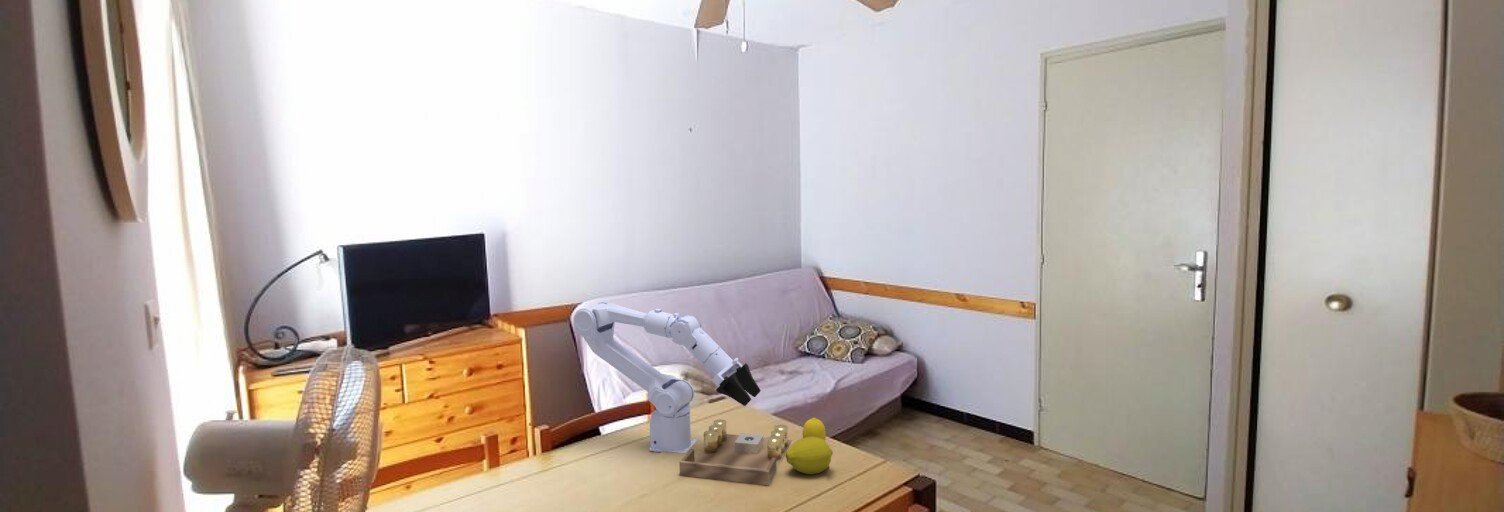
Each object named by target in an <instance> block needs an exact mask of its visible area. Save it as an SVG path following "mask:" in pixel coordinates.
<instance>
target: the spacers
mask: <svg viewBox="0 0 1504 512" xmlns="http://www.w3.org/2000/svg"><path fill="white" fill-rule="evenodd" d="M712 423H713V424H712V425H709V426H708V430H706V431H703V447H704V452H705V453H707V454H713V453H716V452H717V451H718V447H721V446H722V442H723V441H726V440H727V434H728V433H727V420H725V419H719V418H718V419H715V420H713V422H712ZM788 428H789V427H788V426H787V425H785V424H777V425H775V426H774V427H773V430H772V431H771V432H770V436H768V437H766V438H767V456H768V459H769V460H772V458H773V457H774V458H776V460H779V459H781V454H782V453H784V452H785V447H787V446H788V440H789V436H788V430H789V429H788Z"/></svg>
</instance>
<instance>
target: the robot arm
mask: <svg viewBox="0 0 1504 512" xmlns="http://www.w3.org/2000/svg"><path fill="white" fill-rule="evenodd" d="M616 323H620V324H624V325H625V324H626V325H631V326H637V327H641V328H643V329H644V331H645V332H646V333H648V334H650V335H655V336H660V337H663V338H668V339H671V340H672V342H673V343H675V344H676V345H681V346H683V347H684V348H685V349H687V351H689V352H690V353H691V354H692V355H693V357H694V358H696V360H697V361H698V362H699V363H701V365H703V366H704V368H705V369H706V370H707V371H708V372H709V373H710V374H711V375H712V376H713V378H712V379H711V381H712V382H713V383H714V384H715V386H717V388H716V389H715V392H716V393H718V394H721V395H724V396H726V397H729V398H731V399H733V401H736V402H738V403H739V404H741V405H742V406H744V407H746V406H747V405H748V403H750V402H751V401H752V398H751V397H753V398H756V397H757V396H758V394H760V393H761V388H760V387H759V385H758V383H757V382H756V380H755V378H753V375H752V373H751V370H750V367H749V365H748V364H747V363H744V364H742V363H741V362H740V361H739V360H740V359H739V358H738V357H736V358H734V359H732V357H730V355H728V353H727V352H726V351H724V350H723V348H722V347H721V346H720V345H718V343H717V342H715V340H714V339H712V337H711V336H710V335H709V334H708V333H707V332H705V331H704V330H703V328H702V324H701V322H700V320H699V318H697V316H694V315H692V314H690V313H688V314H685V315H683V316H681V315H680V313H677V312H674V313H669V312H665V311H663V309H661V308H655V309H651V310H649V311H648V313H647V312H642V311H640V310H636V309H633V308H628V307H625V306H621V305H619V304H616V303H614V302H610V303H608V302H606V301H601V302H599V303H597V304H593V305H590V306H588V307H582V308H579V309H578V310H577V311H576V312H575V314H574V316H573V325H574V330H575V333H576V334H578V335H580V337H582V338H583V339H584V341H585V342H586V344H587V345H588V347H589V348H590V350H591V351H592V353H593V354H594V355H596V356H597V357H599V358H600V359H602V360H603V361H605V362H606V363H607V364H608V365H610V366H611V367H613V368H614V369H616V370H617V371H618V372H620V374H622V375H624V376H625V377H627V378H628V379H630V380H631V381H632V382H634V383H635V384H637V386H639V387H641V388H642V389H643V390H645V391H646V392H647V393H648V401H649V403H651V404H653V406H654V407H655V410H654V411H653V412H652V413H651V416H650V419H649V440H650V442H649V444H650V445H649V446H650V447H649V452H657V453H662V452H671V453H677V454H678V453H680V454H685V453H686V454H687V453H688V452H689V451H690V450H691V449H692V446H694V444H695V443H696V442H697V441H698V440H697V439H694V438H693V439H692V434H691V432H692V431H691V429H692V428H691V426H692V425H691V403H692V401H693V399H694V398H695V389H694V387H693V385H692V384H691V383H690V382H689V381H687V380H685V379H680V378H677V377H676V376H675V375H671V374H664V373H661V372H660V371H659V370H657V369H656V368H655V367H653V366H652V365H650V364H649V363H648V362H646V361H645V360H643V359H642V358H640V357H639V356H638V355H636V354H635V353H633V352H632V351H631V350H630V349H628V348H626V347H625V346H624V345H622V344H621V343H619V342H617V341H616V340H615V338H614V334H615V324H616ZM750 396H751V397H750Z"/></svg>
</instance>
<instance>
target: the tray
mask: <svg viewBox="0 0 1504 512" xmlns="http://www.w3.org/2000/svg"><path fill="white" fill-rule="evenodd" d="M739 436H740V434H730V433H727V440H726V441H723V442H722V446H721V447H718V451H717V452H716V453H713V454H707V453H705V452H704V446H703V447H702V448H701V449H700V451H699V452H698V453H697V454H696V455H695V449H694V448H693V449H692V448H690V449H689V450H688V451H687V452H686V454H685V455H684V456H683V458H682V459H681V460H679V462H678V463H679V466H678V467H679V476H682V477H692V478H699V479H709V480H717V481H718V480H719V481H725V482H726V481H727V482H733V483H734V482H735V483H741V484H742V483H744V484H752V485H761V486H762V485H763V486H767V487H769V486H770V485H771V482H772V480H773V478H774V476H775V474H776V472H777V471H778V469H779V467H780V465H781V463H782V461H783V459H784V457H785V454H786V452H787V451H788V450H789V449H790V447H791V446H790V445H791V444H792V442H793V439H788V446H787V447H785V452H784V453H782V454H781V459H779V460H776V458H774V457H773V458H772V460H769V459H768V456H767V438H768V437H763V438H764V445H763V447H762V448H761V450H760V451H759V453H758V454H749V453H739V452H735V441H736V440H737V438H738V437H739Z"/></svg>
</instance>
